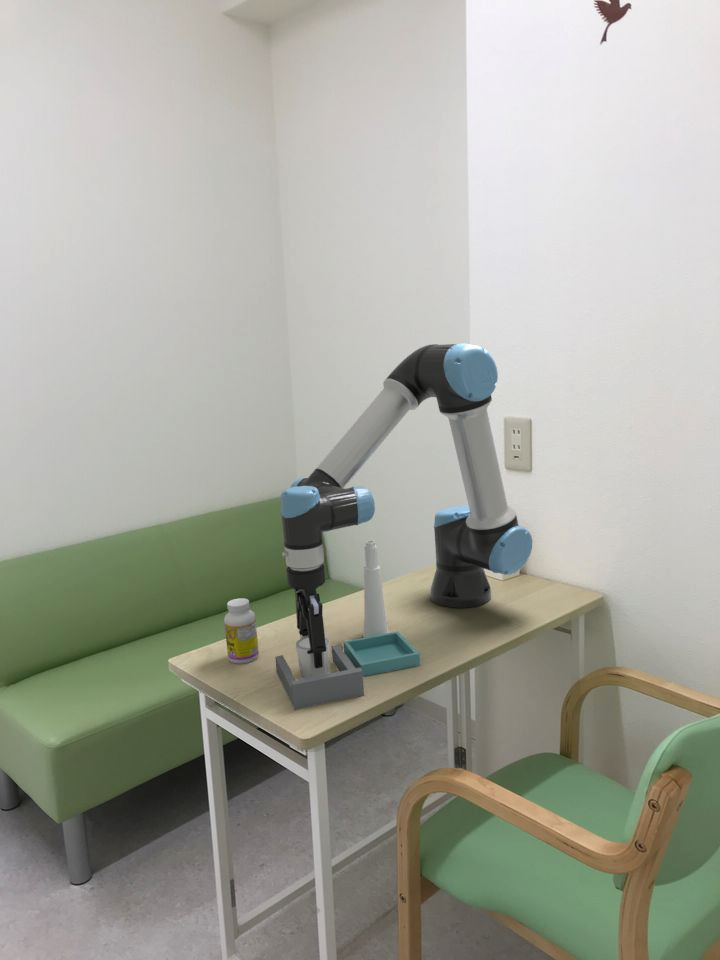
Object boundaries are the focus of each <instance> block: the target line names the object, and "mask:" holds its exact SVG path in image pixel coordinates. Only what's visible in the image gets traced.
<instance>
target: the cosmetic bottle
mask: <svg viewBox="0 0 720 960" xmlns="http://www.w3.org/2000/svg"><path fill="white" fill-rule="evenodd" d="M378 556H379V555H378V546H377V545H376V541H375V540H368V541H365V545H364V560H365V566H364V568H363V588H364V589H363V590H364V591H363V593H364V594H363V595H364V598H363V599H364V601H363V602H364V605H363V606H364V609H363V610H364V612H363V613H364V619H363V630H362V638H365V637H370V636H376V635H381V634H386V633H390V631H389V625H388V621H387V620H388V619H387V615H386V607H385V600H384V598H385V597H384V590H383V589H384V588H383V579H382V572H381V566H380V565H379V557H378Z"/></svg>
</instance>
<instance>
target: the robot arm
mask: <svg viewBox="0 0 720 960" xmlns="http://www.w3.org/2000/svg"><path fill="white" fill-rule="evenodd" d="M498 374H499V371H498V367H497V364H496V362H495V359H494V358H493V356H492V355H491V354H490V352H488V350H487V349H485V348H483V347H482V346H479V345H475V344H469V343H463V342H462V343H452V344H450V343H449V344H447V343H446V344H436V343H435V344H427V345H424V346H422V347H419V348H418V349H416V350H415V351H413V352H412V353H410V354H409V355H407V356H406V357H405V358H404V359H403V360H402V361H401V362H400V363H398V365H397V366H396V367H395V368H394V369H393V370H392V371H391V372H390V373H389V375H388V376H387V377H386V378H385V379H384V381H383V383H382V385H383V389H382V390H381V391H380V392H379V394H378V395H377V396H376V397H375V398H374V399H373V401H372V402H371V403H370V404H369V405H368V407H367V408H366V409H365V410H364V411H363V412H362V414H361V415H359V417H358V418H357V420H356V421H355V422H354V423H353V424H352V425H351V427H350V428H349V429H347V431H346V433H344V435H343V436H342V437H341V438H340V440H339V441H338V442H337V443H336V444H335V446H333V448H332V449H331V450H330V451H329V453H328V454H327V455H326V456H325V457H324V459H323V460H322V461H321V462H320V464H318V465H317V467H316V468H315V469H314V470H313V471H312V472H311V474H310V475H309V476H308V477H302V478H299V479H296V480H294V482H293V483H291V485H290V487H289V488H286V489H284V490H283V491H282V492H281V495H280V516H281V524H282V531H283V532H282V533H283V534H282V535H283V541H284V542H283V545H284V551H283V552H282V553H281V554H282V557H285V565H286V566H287V568H285V569H286V580H287V583H286V584H287V586H288V587H289V588H291V589H293V590H294V596H295V597H294V598H295V599H294V600H295V610H296V611H295V612H296V628H297V630H298V634H299V636H300V637H299V640H300V639H302V638H304V637H308V636H309V643H310V650H308V651H307V653H308V654H309V656H310V668H311V677H315V676H320V675H325V665H324V652H325V651H326V644H325V637H326V635H325V626H324V625H325V624H324V616H323V606H324V605H323V603H322V602H321V599H320V598H321V597H320V594H319V593H317V589H318V588H319V587H322V586H323V585H324V584H325V582H326V572H325V565H324V564H323V563H324V562H325V553H324V552H325V551H324V542H323V533H324V532H325V533H326V532H330V531H334V530H339V529H343V528H348V527H353V526H358V525H361V524H363V523H366V522H369V521H371V520H372V518H373V517H374V514H375V511H376V510H375V509H376V508H375V507H376V506H375V499H374V496H373V494H372V492H371V491H370V490H369V489H368V488H367V487H365V486H362V485H361V486H351V487H348V488H346V486H347V485H348V484H349V483H350V482H351V480H353V479H354V478H355V476H356V475H357V473H358V472H359V471H360V470H361V468H363V466H364V465H365V464H366V463H367V461H368V460H369V459H370V458H371V457H372V456H373V454H374V453H375V451H377V449H379V447H380V446H381V445H382V443H383V442H384V441H385V440H386V439H387V437H388V436H389V435H390V434H391V433H392V431H393V430H394V429H395V428H396V426H398V424H399V423H400V422H401V421H402V420H403V419H404V417H405V416H406V415H407V413H408V412H409V411H414V410H416V409H418V407H419V406H420V404H421V403H422V402H424V401H425V400H428V399H429V398H436V402H437V406H438V411H439V413H440V414H442V415H443V416H446V418H447V419H448V422H449V426H450V431H451V435H452V439H453V443H454V444H453V445H454V449H455V451H456V456H457V461H458V465H459V466H458V467H459V470H460V473H461V479H462V483H463V487H464V491H465V495H466V501H467V504H468V505H461V506H453V507H448V508H444V509H443V508H442V509H441V510H438V511H437V512H436V513H435V515H434V526H433V528H434V531H433V532H434V546H435V549H434V550H435V560H436V563H435V572H434V575H433V579H432V582H431V586H430V590H429V591H430V600H432V602H433V603H434V604H437V605H440V606H444V607H449V608H457V609H459V608H462V609H463V608H473V607H478V606H480V605H484V604H486V603H487V602H489V601H490V600H491V599H492V588H491V586H490V582H489V579H488V577H487V573H486V571H485V570H488V571H490V572H492V573H495V574H500V575H504V576H505V575H508V576H510V575H512V574H516V573H517V572H519V571H520V570H521V569H522V568H523V567H524V566H525V565H526V564H527V562H528V560H529V559H530V556H531V553H532V550H533V538H532V534H531V532H530V531H529V530H528V529H527V528H525V526H523V525H521V526H520V525H519V521H518V516H517V512H516V510H515V509H514V508H513V507H511V506H509V505H508V503H507V497H506V492H505V489H504V483H503V478H502V473H501V469H500V465H499V460H498V456H497V455H498V454H497V451H496V447H495V440H494V437H493V432H492V428H491V423H490V418H489V413H488V407H489V406H490V404H491V402H492V401H493V398H492V394H493V392H494V391H495V389H496V387H497V386H496V385H495V384H496V383H498V379H499V378H498V377H499V376H498Z"/></svg>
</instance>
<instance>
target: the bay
mask: <svg viewBox="0 0 720 960" xmlns="http://www.w3.org/2000/svg"><path fill="white" fill-rule="evenodd" d="M330 648H331V660H332V663H333V665H334V666H335V668H336V669H337V670H338V671H336V672H331V673H330V672H329V674H325V675H320V676H315V677H310V678H299V679H296V677H295V676H294V674H293V672H292V670H291V668H290V666H289V664H288V662H287V661H286V659H285V656H284V655H283V654H281V655H275V657H274V660H275V661H274V662H275V670H276V671H275V672H276V674H277V676H278V678H279V681H280V683H281V684H282V687H283V688H284V690H285V693H286V694H287V698H288V699H289V701H290V703H291V706H292V707H293V709H294V710H301V709H306V708H309V707H315V706H319V705H324V704H330V703H333V702H338V701H343V700H348V699H352V698H353V699H354V698H357V697H362V696H365V687H364V676H363V671H362V669H361V668H355V666H354V665H353V664H352V662H351V661H350V659H349V658H348V657H347V655H346V654H345V653H344V649H342V646H340V644H336V645H335V644H334V645H331V647H330Z"/></svg>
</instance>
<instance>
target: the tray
mask: <svg viewBox="0 0 720 960" xmlns="http://www.w3.org/2000/svg"><path fill="white" fill-rule="evenodd" d="M342 643H343V651H344V653H345V654H346V655H347V657H348V658H349V659H350V661H351V662H352V664H353V665H354V666H355V668H361V669H362V671H363V677H368V676H373V675H377V674H382V673H387V672H393V671H397V670H398V671H399V670H402V669H407V668H412V667H417V666H420V665H421V660H420V659H421V658H420V657H421V656H420V654H421V653H419V651H417V649H416V648H415V647H414V646H413V645H412V644H411V643H410V642H409V641H408V640H407V638H405V637H404V636H403V635H402V633H401V632H399V631H398V630H397V631H392V632H389V633H386V634H381V635H376V636H370V637H365V638H364V637H360V638H355V639H350V640H345V641H343V642H342Z"/></svg>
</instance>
